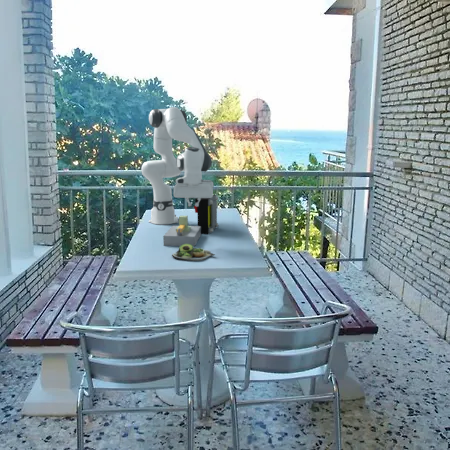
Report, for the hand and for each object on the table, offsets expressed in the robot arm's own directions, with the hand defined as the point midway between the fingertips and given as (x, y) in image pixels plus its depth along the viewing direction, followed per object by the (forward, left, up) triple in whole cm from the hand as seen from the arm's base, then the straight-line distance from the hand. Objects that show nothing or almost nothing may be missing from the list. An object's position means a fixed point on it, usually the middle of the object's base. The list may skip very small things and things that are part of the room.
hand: (193, 206), depth 238 cm
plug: (-6, -6, -17) cm, 19 cm away
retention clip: (+2, -6, -14) cm, 15 cm away
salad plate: (+25, +3, -20) cm, 32 cm away
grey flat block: (-4, -6, -19) cm, 21 cm away
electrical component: (-27, +4, -19) cm, 33 cm away
